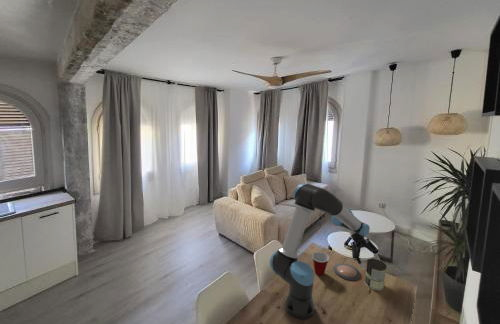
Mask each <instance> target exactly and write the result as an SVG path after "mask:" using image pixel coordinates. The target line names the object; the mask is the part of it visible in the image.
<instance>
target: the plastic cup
mask: <svg viewBox="0 0 500 324" xmlns="http://www.w3.org/2000/svg"><path fill="white" fill-rule="evenodd" d="M311 258H312V260H313V267H314V268H313V271H314V274H315V275H317V276H324V274H325V273H326V269H327V265H328V262H329V260H330V256H329V254H327V253H325V252H321V251H316V252H313V253H312V254H311Z"/></svg>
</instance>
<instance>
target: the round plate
mask: <svg viewBox="0 0 500 324" xmlns="http://www.w3.org/2000/svg"><path fill="white" fill-rule="evenodd" d="M333 271H334V274H336V275H337V276H338V277H340V278H342V279H344V280H347V281H357V280H359V278H360V277H361V273H360V271H359V269H358V268H357V267H355V266H353V265H351V264H348V263H341V262H340V263H336V264H335V265H334V266H333Z"/></svg>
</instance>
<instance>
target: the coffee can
mask: <svg viewBox="0 0 500 324" xmlns="http://www.w3.org/2000/svg"><path fill="white" fill-rule="evenodd" d="M365 270H366V271H365V278H364V284H365V286H367V288H369V289H371V290H374V291H382V290H384V286H385V285H384V284H385V280H386V279H385V278H386V273H387V264H385V262H383V261H382V260H380V261H379V260H376V259H375V258H369V259H368V260H367V263H366V269H365Z"/></svg>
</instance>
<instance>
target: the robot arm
mask: <svg viewBox="0 0 500 324" xmlns="http://www.w3.org/2000/svg"><path fill="white" fill-rule="evenodd" d="M292 194H293V199H294V200H295V201H294V203H293V204H294V206H295V209H294V211H293V214H292V218H291V221H290V222H289V225H288V229H287V232H286V234H285V238H284V240H283V243H282V246H281V247H278V249H277V250H275V251H274V253H272V255H271V256H270V258H269V266H270V268H271V270H272V271H273V272H274V273H275V275H277V276H279V277H280V278H281V279H282V280H283V281H285V283H287V284H288V286H289V291H288V294H287V296H286V298H285V301H284V307H285V310H286V312H287V313H288V314H289V315H290V316H291V317H294V318H296V319H298V320H307V319H310V318H312V317H313V315H314V314H315V303H314V302H315V301H314V299H313V288H314V280H315V275H314V274H315V272H314V269H313V268H312V267H311V266H310V265H309V264H308V263H307V262H305V261H299V260H298V259H299V256H298V250H299V248H300V244H301V242H302V238H303V236H304V232H305V231H306V230H305V229H306V227H307V225H308V221H309V218H310V217H311V216H310V215H311V213H313V212H315V209H316V210H318V211H321V212H324V213H326V214H328V215H330V216H331V222H332V224H333V225H334V226H336V227H342V228H344V229H347V231H348V233H349V235H350V237H351V240H352V241H351V242H350V246H351V255H352V258H353V259H354V260H356V261H357V263H358V265H359V266H360V268H361V270H366V269H367V267H366V265H365V264H364V261H363V259H362V258H361V257H360V255H361V249H362V248H366V249H367V250H368V251H369V252H371V253H372V256H373V257H374V259H376V260H379V261H381V259H380V256H379V254H378V253H379V252H380V250H379V248H377V247H376V246H375V245H374V243H373V242H372V241H371V240H370V238H368V237H367V238H365V237H366V236H368V235H369V233H370V230H371V229H370V225H369V224H367V223H365V222H363V221H361V220H360V219H359V218H357V217H356V216H355V214H354V213H353V211H352V210H350V209H348V208H346V207H345V206H344V205H343V202H342V200H341V199H339V198H338V197H336V195H335V194H333V193H331V192H330V191H329V190H327V189H325V188H321V187H319V186H316V185H313V184H312V183H306V182H303V183H302V182H301V183H300V184H298V185H297V186H296V187H295V189H294V190H293V193H292Z"/></svg>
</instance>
